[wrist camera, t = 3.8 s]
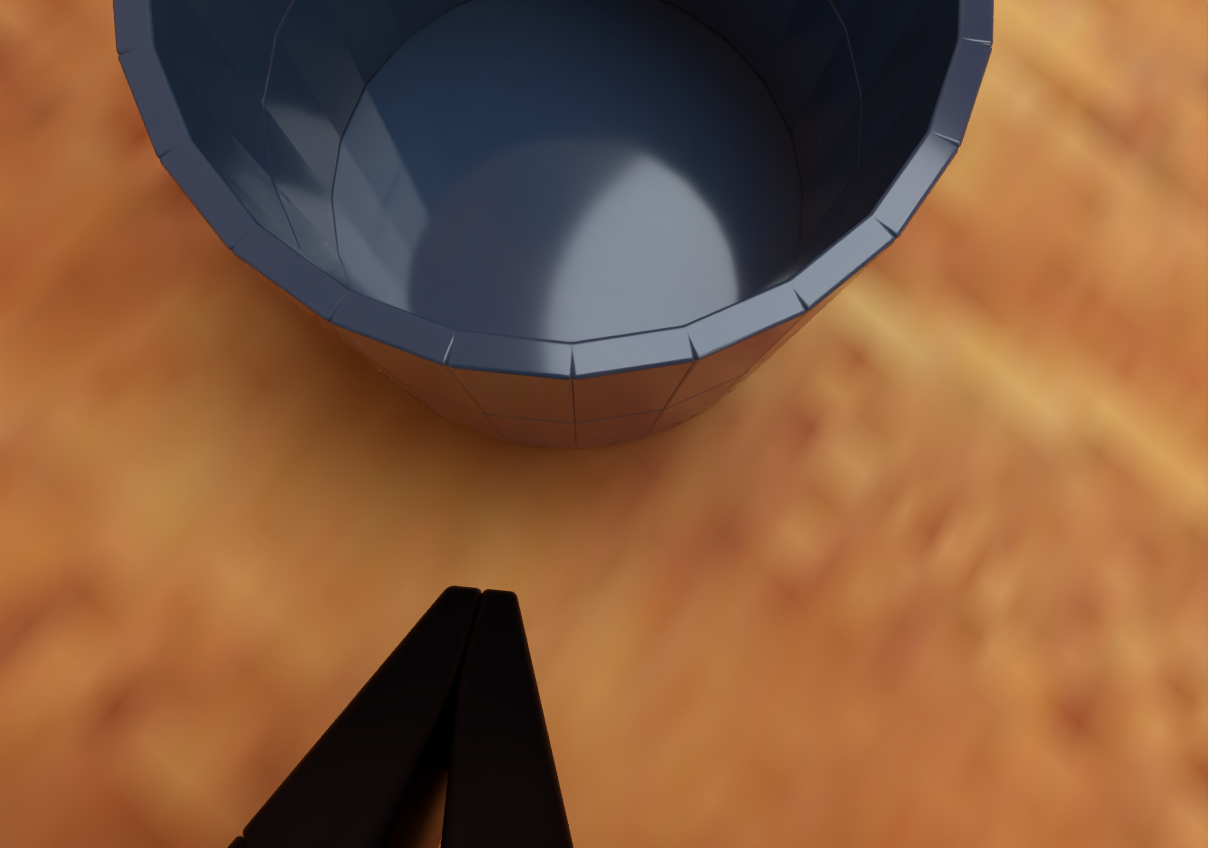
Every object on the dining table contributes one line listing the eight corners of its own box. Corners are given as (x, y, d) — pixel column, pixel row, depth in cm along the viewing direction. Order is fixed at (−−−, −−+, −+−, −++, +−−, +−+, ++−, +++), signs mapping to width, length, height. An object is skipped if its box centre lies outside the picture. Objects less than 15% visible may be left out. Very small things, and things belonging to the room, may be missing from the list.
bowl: (898, 326, 18) (1155, 159, 10) (435, 532, 17) (303, 533, 9) (687, -82, 19) (761, -514, 11) (248, 85, 18) (-10, -263, 10)
